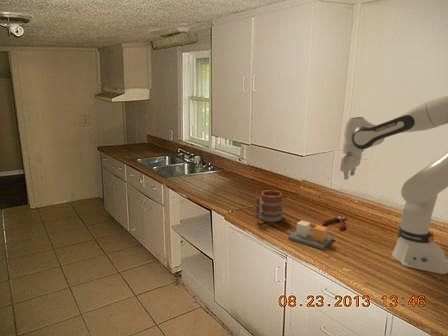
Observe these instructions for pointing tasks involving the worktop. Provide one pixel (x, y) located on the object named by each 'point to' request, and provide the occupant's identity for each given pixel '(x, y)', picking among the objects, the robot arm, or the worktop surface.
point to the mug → (269, 206)
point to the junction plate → (308, 236)
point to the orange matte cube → (320, 233)
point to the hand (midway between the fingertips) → (349, 177)
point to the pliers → (336, 221)
